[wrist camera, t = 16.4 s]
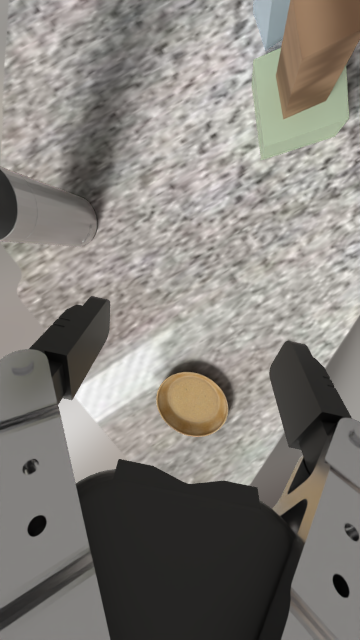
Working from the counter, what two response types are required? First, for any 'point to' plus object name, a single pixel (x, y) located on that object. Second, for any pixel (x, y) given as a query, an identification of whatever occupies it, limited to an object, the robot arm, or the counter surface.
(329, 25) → the walnut block
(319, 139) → the base block
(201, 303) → the counter surface
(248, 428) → the counter surface
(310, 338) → the counter surface
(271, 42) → the slate block
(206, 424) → the plant saucer
